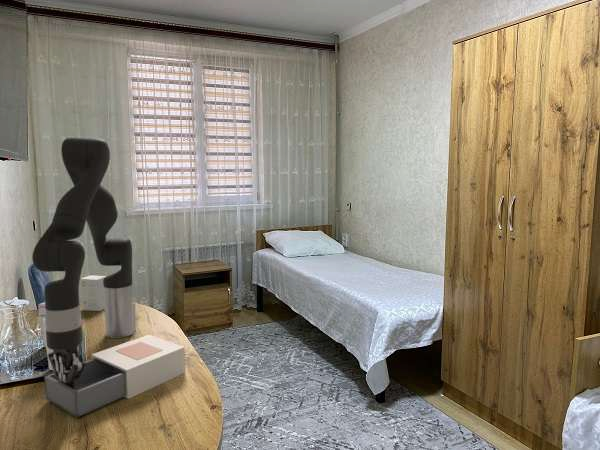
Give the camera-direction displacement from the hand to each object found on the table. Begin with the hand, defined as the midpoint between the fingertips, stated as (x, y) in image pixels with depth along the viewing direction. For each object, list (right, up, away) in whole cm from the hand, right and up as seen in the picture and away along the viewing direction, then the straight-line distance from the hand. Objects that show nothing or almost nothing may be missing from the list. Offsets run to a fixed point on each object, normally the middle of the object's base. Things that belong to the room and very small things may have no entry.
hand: (68, 395), depth 108 cm
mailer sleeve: (+11, -1, +16) cm, 20 cm away
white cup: (-13, -1, +21) cm, 25 cm away
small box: (-28, +6, +76) cm, 81 cm away
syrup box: (-24, +2, +38) cm, 45 cm away
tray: (+4, -2, +6) cm, 8 cm away
